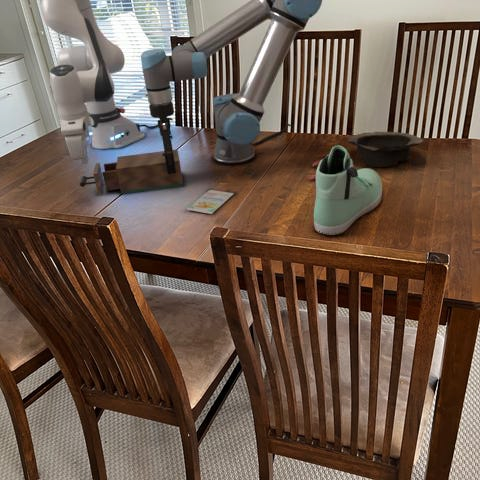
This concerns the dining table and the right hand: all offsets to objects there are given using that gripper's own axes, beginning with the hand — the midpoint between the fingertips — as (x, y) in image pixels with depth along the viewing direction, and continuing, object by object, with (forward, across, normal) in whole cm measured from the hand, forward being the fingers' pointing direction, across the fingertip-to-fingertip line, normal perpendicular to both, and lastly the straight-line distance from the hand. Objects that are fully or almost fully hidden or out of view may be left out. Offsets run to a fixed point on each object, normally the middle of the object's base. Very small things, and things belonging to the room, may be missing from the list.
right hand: (171, 165), depth 162 cm
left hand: (-5, 0, -27) cm, 28 cm away
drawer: (+4, 0, -18) cm, 19 cm away
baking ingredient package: (+6, +20, +11) cm, 24 cm away
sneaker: (+6, +37, +49) cm, 61 cm away
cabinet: (+6, 0, -7) cm, 9 cm away
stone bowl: (+6, +5, +73) cm, 74 cm away
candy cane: (+6, +10, +48) cm, 50 cm away
